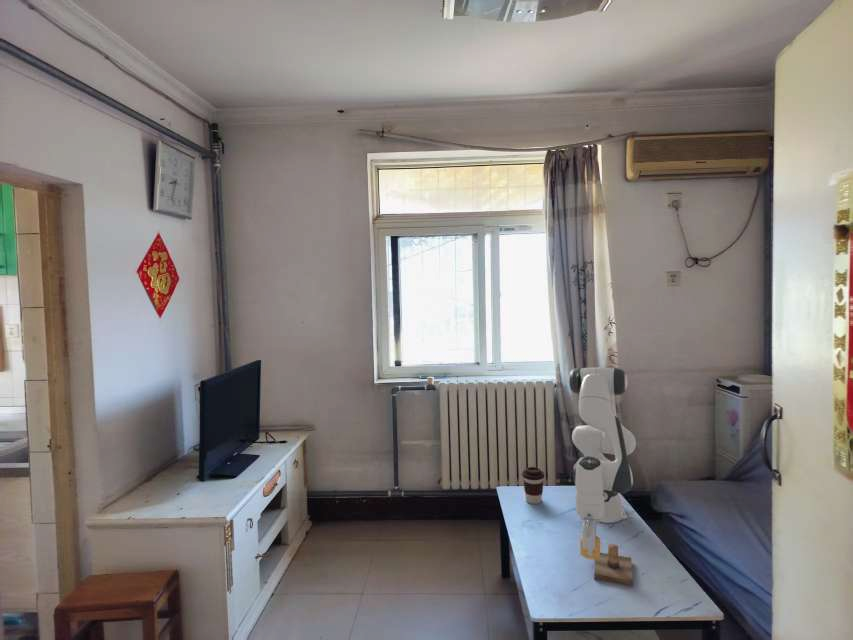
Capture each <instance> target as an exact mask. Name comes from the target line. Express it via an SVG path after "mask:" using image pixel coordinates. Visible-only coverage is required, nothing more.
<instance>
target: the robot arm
mask: <svg viewBox="0 0 853 640" xmlns="http://www.w3.org/2000/svg"><path fill="white" fill-rule="evenodd" d="M628 379H629V378H628V377H627V374H626V372H625V371H624V370H623V369H621V368H618V367H617V368H616V367H614V368H613V367H612V368H611V367H602V366H597V367H583V368H581V367H576V368H573V369H571V371H570V372H569V376H568V380H567V381H568V382H567V383H568V386H569V389H570V391H571V392H572V393H574V394H577V395H578V415H579V417H580V418H581V420H582V421H583V422H584V423H585V425H577V426H575V427H574V429H573V431H572V434H571V439H572V442H573V445H574V446H575V447H576V448H577V449H578V450H579V451H580V452H581V454H583V456H582V457H580V458H578V460H577V461H576V463H574V464H573V471H572V474H573V476H572V477H573V478H572V479H573V483H574V485H575V489H576V494H575V513H576V514H577V515H578V516H579V517H580V520H582V535H583V549H585V550H587V555H590V556H592V555H593V551H594V550H595V542H596V536H597V526H598V525H597V524H598V522H600V523H604V524H605V523H607V524H609V523H610V524H611V523H616V522H619V521H621V520H627V519H628V515H627V513H626V511H625V509H624V507H623V499H622V498H621V495H619V494H623V495H624V494H625V493H627V492H628V491H630V490H631V489H632V487H633V484H634V478H633V472H632V468H631V467H630V462H629V458H628V456H629V455H631V454H633V452H634V451H635V449H636V445H637V442H636V441H637V440H636V437H635V435H634V434H633V432H632V431H630V430H628V428H626V427H625V426H624V425H623V424H622V423H621V420H620V418H619V417H618V415H617V410H616V398H615V397H616V396H620V395H621V396H622V395H623V394H624V393H625V392H626V390H627V388H628V385H629V380H628ZM604 454H608V455H614V457H615V459H614V460H613V461H612V460H610V459H608V458H607V457H606V456H605V455H604Z"/></svg>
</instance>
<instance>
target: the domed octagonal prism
mask: <svg viewBox="0 0 853 640" xmlns="http://www.w3.org/2000/svg"><path fill="white" fill-rule="evenodd" d="M600 553H601V538H600V537H599V536H597V535H596V542H595V550H594V551H593V555H592V556H590V555H587V550H585V549H583V534H582V535H581V536H580V555H581V556H582V557H584V558H585V559H589V560H595V559H597V558H600Z"/></svg>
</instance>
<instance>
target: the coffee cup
mask: <svg viewBox="0 0 853 640" xmlns="http://www.w3.org/2000/svg"><path fill="white" fill-rule="evenodd" d="M522 477H523V489H524V494H525V495H524V496H525V501H526V502H527V503H529V504H533V505H534V504H535V505H536V504H541V503H542V502H543V501H542V500H543V493H544V492H543V491H544V478H545V472H544V471H543V470H542V469H541V468H539V467H535V466H529V467H526V468H525V469H524V470H522Z"/></svg>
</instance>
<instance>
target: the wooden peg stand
mask: <svg viewBox="0 0 853 640" xmlns="http://www.w3.org/2000/svg"><path fill="white" fill-rule="evenodd" d="M607 547H608V548H607V550H608V552H607V553H605V552H600V558H597V559H594V560H595V561H594V575H593V576H594V577H593V578H594V580H596V581H602V582H607V583H612V584H618V585H624V586H628V587H633V586H634V585H633V580H634V579H633V565H632V563H633V562H632V557H630V556H623V555H619V546H618V545H617V544H615V543H609V544H608V545H607Z"/></svg>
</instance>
